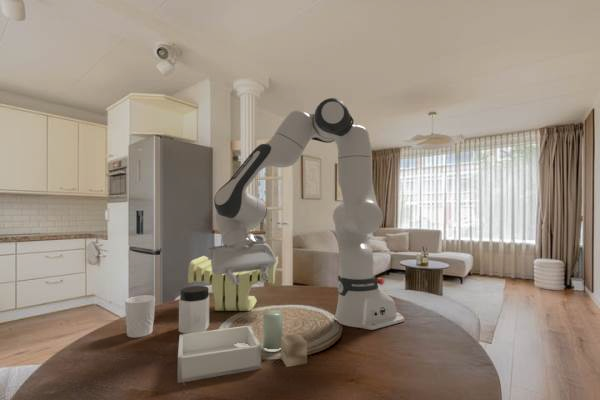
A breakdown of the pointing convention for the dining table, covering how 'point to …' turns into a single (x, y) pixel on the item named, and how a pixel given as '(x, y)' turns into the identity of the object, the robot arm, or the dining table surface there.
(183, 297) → the jar
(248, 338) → the tote
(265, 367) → the dining table surface
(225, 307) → the slatted curved stool
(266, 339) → the sage cylinder
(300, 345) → the beech cube
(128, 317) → the white cup
